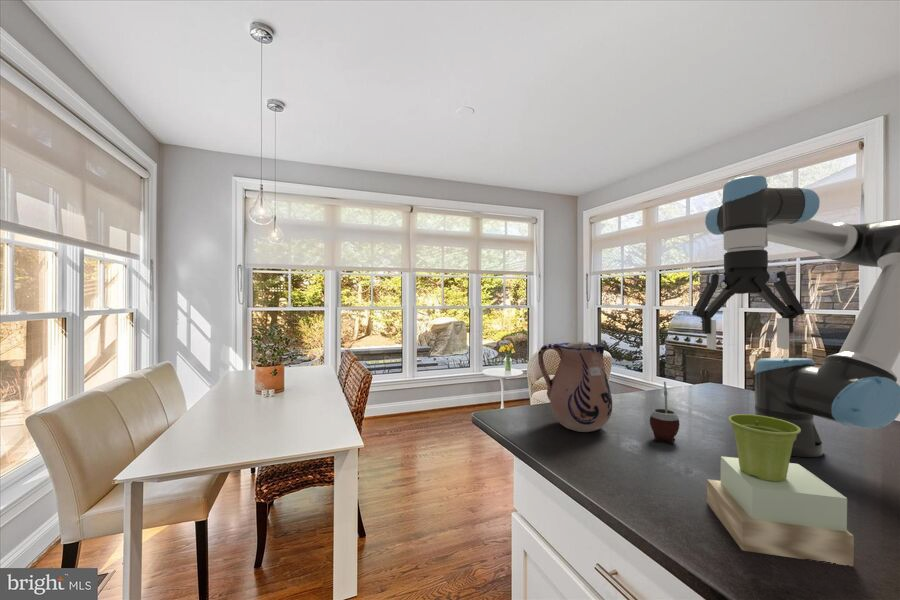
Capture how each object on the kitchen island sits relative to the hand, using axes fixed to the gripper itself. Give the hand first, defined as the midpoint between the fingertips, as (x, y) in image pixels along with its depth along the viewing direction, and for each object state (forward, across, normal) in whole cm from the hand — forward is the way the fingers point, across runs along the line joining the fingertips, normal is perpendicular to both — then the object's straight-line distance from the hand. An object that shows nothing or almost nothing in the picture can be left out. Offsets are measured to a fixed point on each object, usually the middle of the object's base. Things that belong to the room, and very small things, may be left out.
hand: (746, 348), depth 83 cm
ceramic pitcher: (+28, +34, -25) cm, 50 cm away
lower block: (+28, +7, +21) cm, 36 cm away
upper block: (+23, +6, +21) cm, 32 cm away
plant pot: (+18, +8, +21) cm, 29 cm away
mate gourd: (+28, +11, -19) cm, 36 cm away
